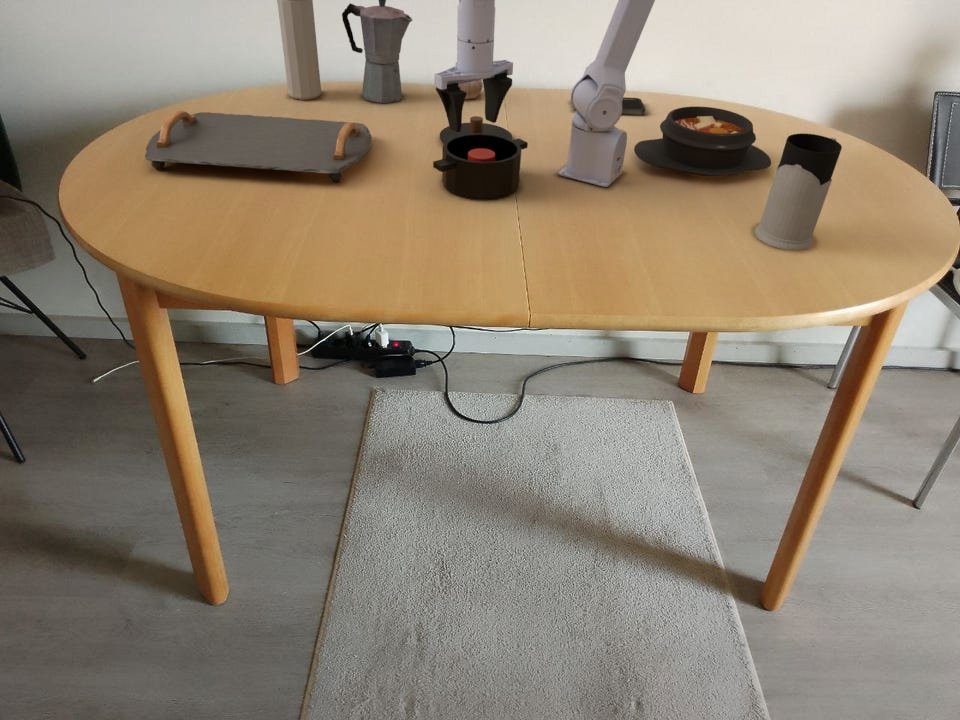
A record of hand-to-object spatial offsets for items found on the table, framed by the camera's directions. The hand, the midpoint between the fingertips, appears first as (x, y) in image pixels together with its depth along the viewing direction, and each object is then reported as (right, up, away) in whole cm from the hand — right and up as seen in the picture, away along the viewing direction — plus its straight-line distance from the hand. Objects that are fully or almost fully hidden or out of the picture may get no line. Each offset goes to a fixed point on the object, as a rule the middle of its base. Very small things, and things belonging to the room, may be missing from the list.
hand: (473, 125), depth 120 cm
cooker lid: (0, +4, +19) cm, 20 cm away
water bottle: (-37, +19, +38) cm, 56 cm away
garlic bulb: (-2, +19, +41) cm, 45 cm away
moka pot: (-21, +18, +38) cm, 47 cm away
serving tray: (-38, -2, +11) cm, 39 cm away
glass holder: (+50, -19, -6) cm, 54 cm away
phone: (+29, +16, +37) cm, 50 cm away
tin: (+1, -8, +4) cm, 9 cm away
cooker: (+1, -9, +4) cm, 10 cm away
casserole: (+42, -3, +14) cm, 45 cm away
